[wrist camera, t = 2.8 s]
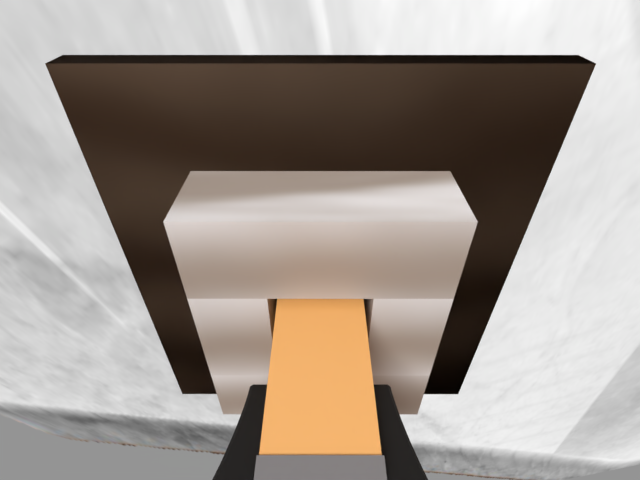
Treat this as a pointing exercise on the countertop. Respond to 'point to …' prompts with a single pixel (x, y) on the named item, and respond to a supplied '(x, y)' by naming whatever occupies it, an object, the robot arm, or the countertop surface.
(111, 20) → the countertop surface
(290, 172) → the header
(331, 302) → the plug
